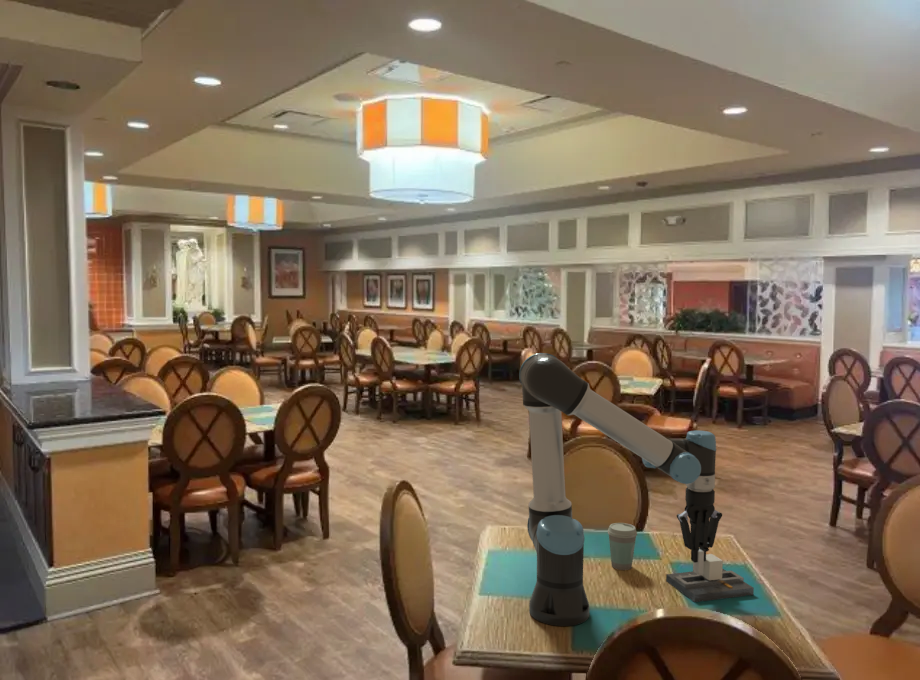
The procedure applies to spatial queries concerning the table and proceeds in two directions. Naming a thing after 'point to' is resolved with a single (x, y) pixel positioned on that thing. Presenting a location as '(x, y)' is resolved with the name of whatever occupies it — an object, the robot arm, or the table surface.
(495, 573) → the table surface
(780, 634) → the table surface
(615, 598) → the table surface
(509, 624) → the table surface
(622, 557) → the coffee cup
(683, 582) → the console
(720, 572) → the fader tab
